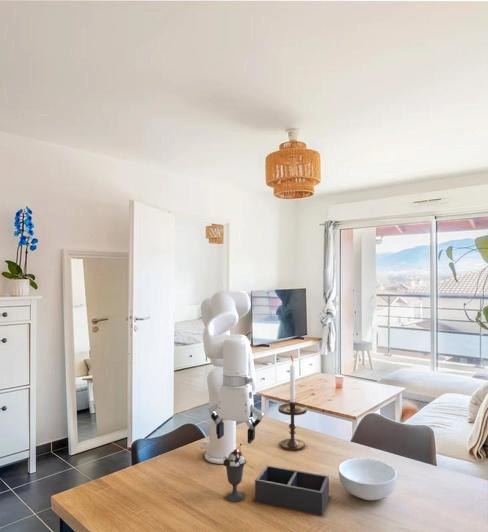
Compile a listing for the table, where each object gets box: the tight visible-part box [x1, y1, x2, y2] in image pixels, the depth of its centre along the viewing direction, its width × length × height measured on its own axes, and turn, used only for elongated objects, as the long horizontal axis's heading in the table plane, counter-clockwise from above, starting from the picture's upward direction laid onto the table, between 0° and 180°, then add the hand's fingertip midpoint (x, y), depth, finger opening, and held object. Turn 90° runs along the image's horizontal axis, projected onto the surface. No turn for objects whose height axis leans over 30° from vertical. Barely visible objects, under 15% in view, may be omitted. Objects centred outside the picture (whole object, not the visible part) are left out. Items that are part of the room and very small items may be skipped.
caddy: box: [254, 464, 330, 517], centre depth 116 cm, size 10×19×6 cm, turn 69°
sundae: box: [222, 443, 247, 503], centre depth 118 cm, size 7×7×15 cm
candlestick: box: [277, 354, 308, 452], centre depth 154 cm, size 11×11×35 cm
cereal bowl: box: [338, 457, 398, 501], centre depth 120 cm, size 17×17×7 cm
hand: (235, 439), depth 117 cm, fingers open, 9 cm apart
